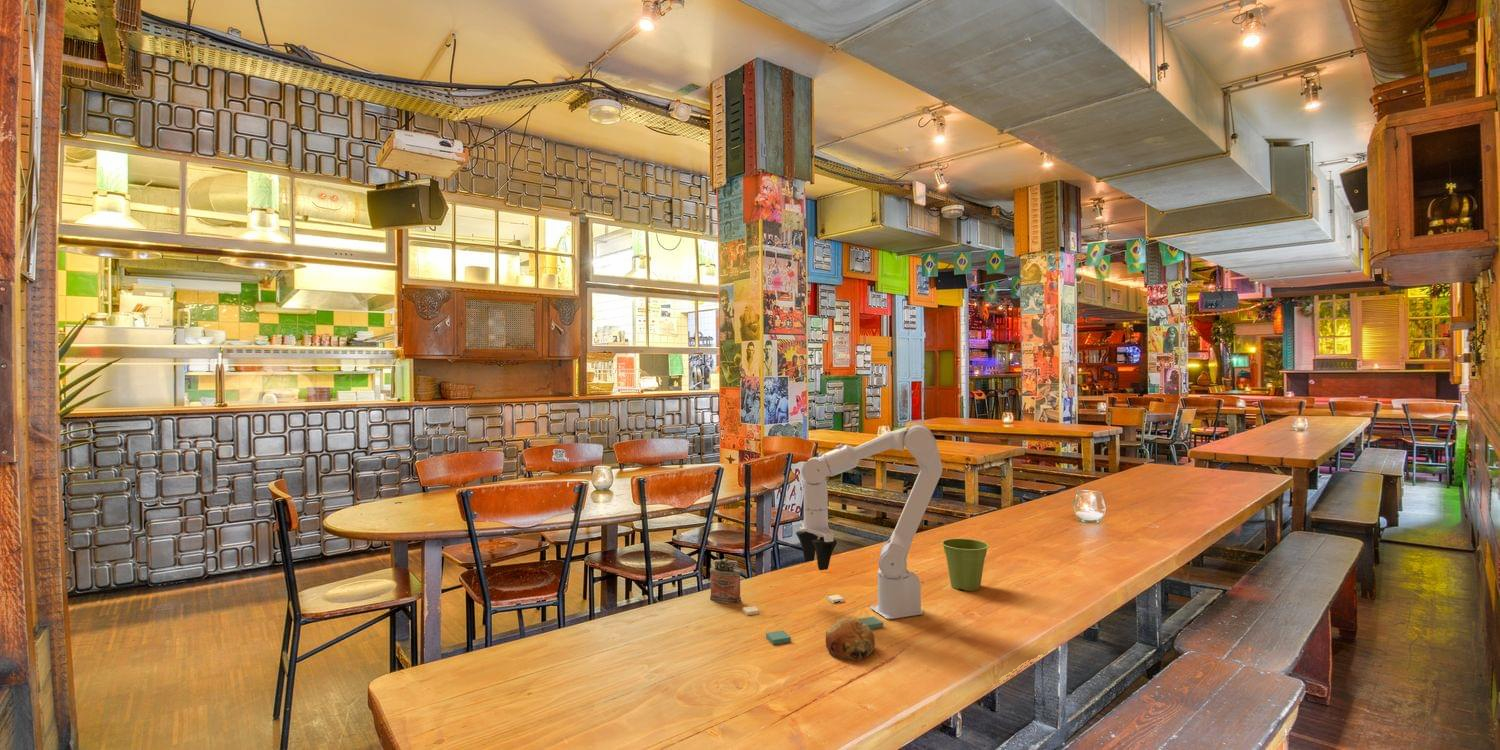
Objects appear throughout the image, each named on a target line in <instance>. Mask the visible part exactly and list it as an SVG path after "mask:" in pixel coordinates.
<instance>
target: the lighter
mask: <svg viewBox="0 0 1500 750" xmlns="http://www.w3.org/2000/svg"><path fill="white" fill-rule="evenodd" d="M713 563H714V564H713V565H714V566H713V567H711V568H709V573H710V595H709V600H710V601H714V602H718V603H725V604H740V603H742V598H741V575H742V574H741V573H742V572H741V570H740V569H736V568H738V567H739V562H738V561H737V560H731V559H730V560H728V559H727V558H723V559H715V560H714V562H713Z"/></svg>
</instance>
